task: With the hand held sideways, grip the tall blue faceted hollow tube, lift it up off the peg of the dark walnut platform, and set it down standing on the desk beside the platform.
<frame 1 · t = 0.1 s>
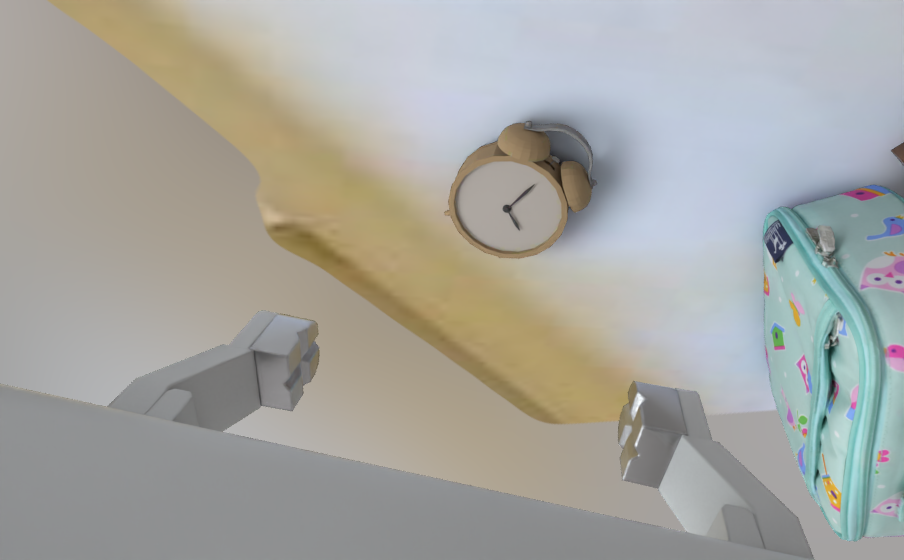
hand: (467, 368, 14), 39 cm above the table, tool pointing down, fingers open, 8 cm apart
alarm clock: (523, 179, 53), on the table
lunch box: (814, 286, 54), on the table
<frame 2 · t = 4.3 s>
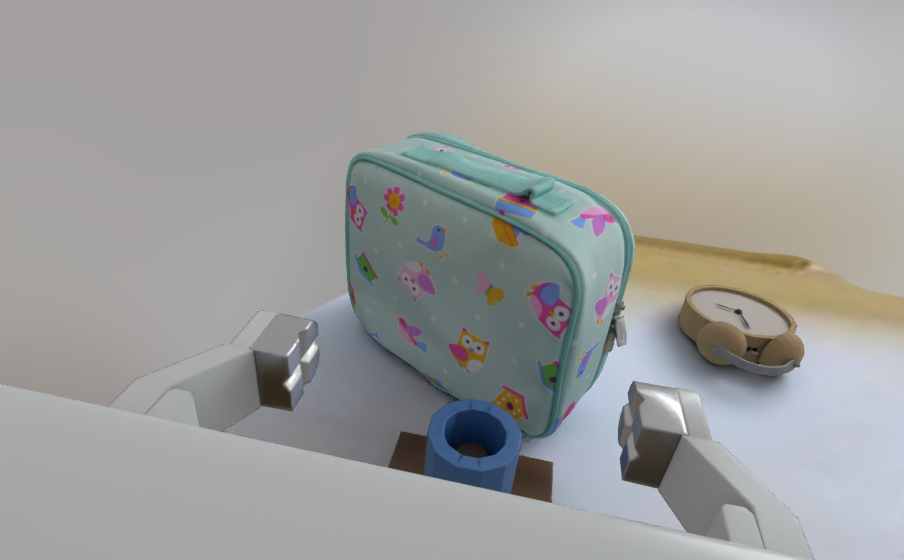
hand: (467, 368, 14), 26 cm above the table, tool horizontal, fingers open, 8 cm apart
alarm clock: (732, 346, 61), on the table
lunch box: (465, 367, 54), on the table
platform: (458, 543, 38), on the table
blue faceted hollow tube: (460, 526, 37), point 2 cm above the table, touching platform
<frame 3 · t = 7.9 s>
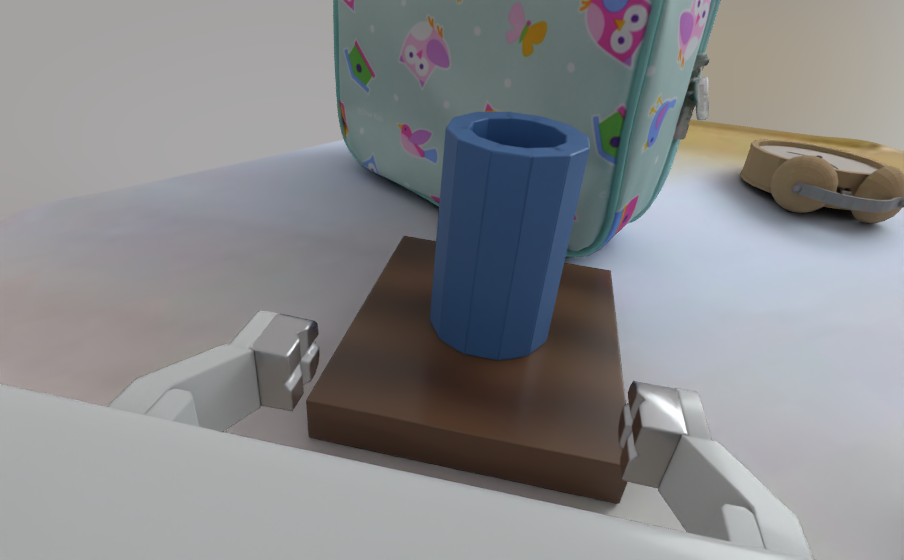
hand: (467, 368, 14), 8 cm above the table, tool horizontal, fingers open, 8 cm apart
alarm clock: (810, 201, 49), on the table
lunch box: (484, 203, 43), on the table
platform: (484, 355, 27), on the table
blue faceted hollow tube: (489, 322, 26), point 2 cm above the table, touching platform
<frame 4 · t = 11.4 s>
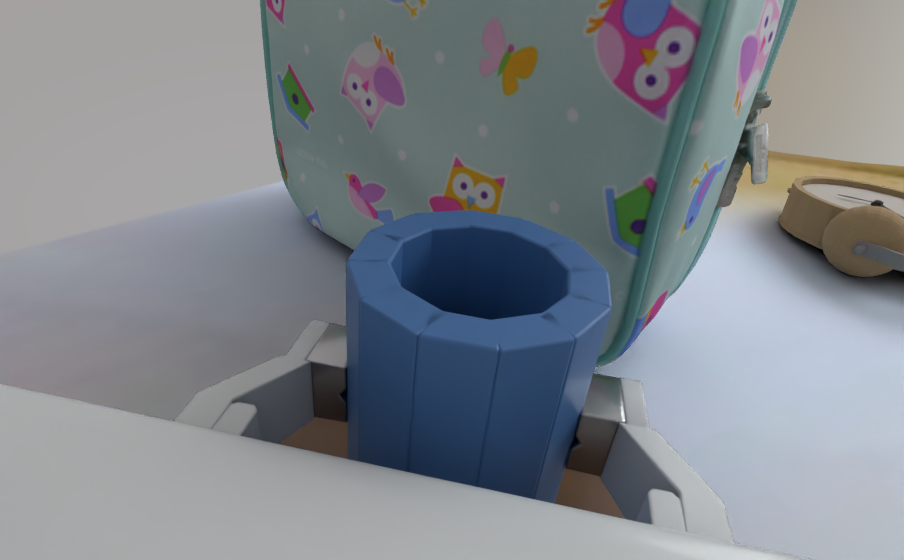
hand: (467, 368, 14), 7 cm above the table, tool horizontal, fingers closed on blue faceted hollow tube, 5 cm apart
alarm clock: (867, 257, 40), on the table
lunch box: (460, 270, 33), on the table
blue faceted hollow tube: (444, 528, 16), point 2 cm above the table, touching gripper, platform
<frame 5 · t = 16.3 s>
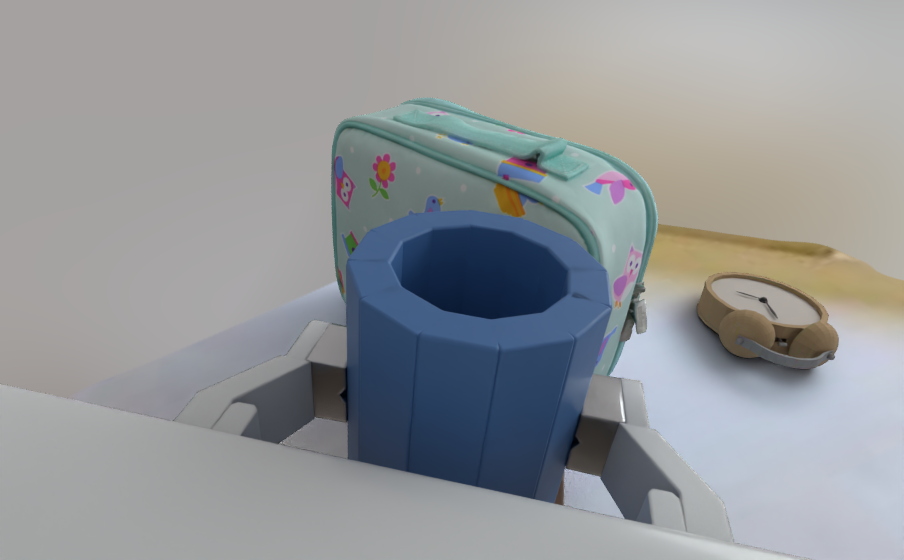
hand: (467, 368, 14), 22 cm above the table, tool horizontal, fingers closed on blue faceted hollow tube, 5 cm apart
alarm clock: (756, 338, 55), on the table
lunch box: (464, 360, 49), on the table
blue faceted hollow tube: (444, 527, 16), point 17 cm above the table, touching gripper
when the fingers open (5 cm above the table, at t = 21.7 s): blue faceted hollow tube stays where it is, on the table.
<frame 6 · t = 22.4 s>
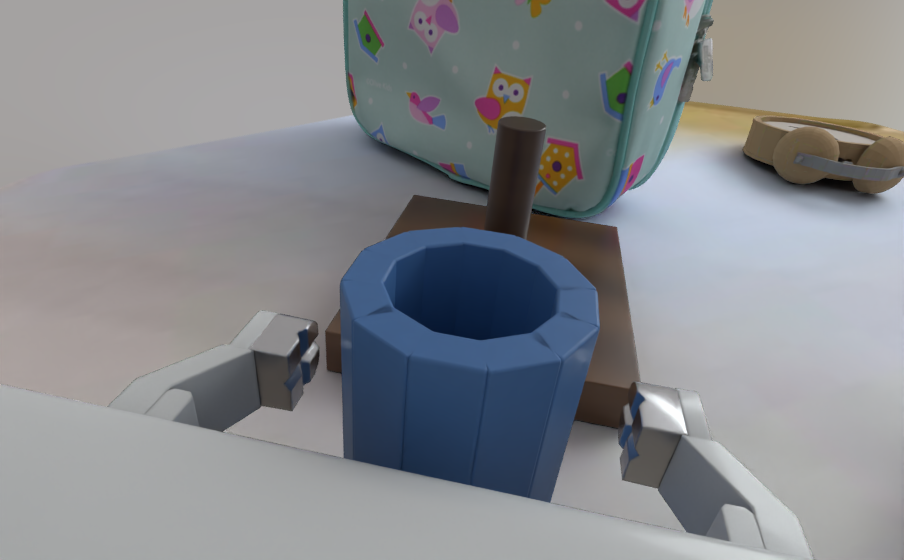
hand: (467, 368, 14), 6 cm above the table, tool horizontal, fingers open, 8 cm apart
alarm clock: (811, 175, 50), on the table
lunch box: (490, 172, 43), on the table
platform: (494, 303, 27), on the table
blue faceted hollow tube: (440, 537, 17), on the table
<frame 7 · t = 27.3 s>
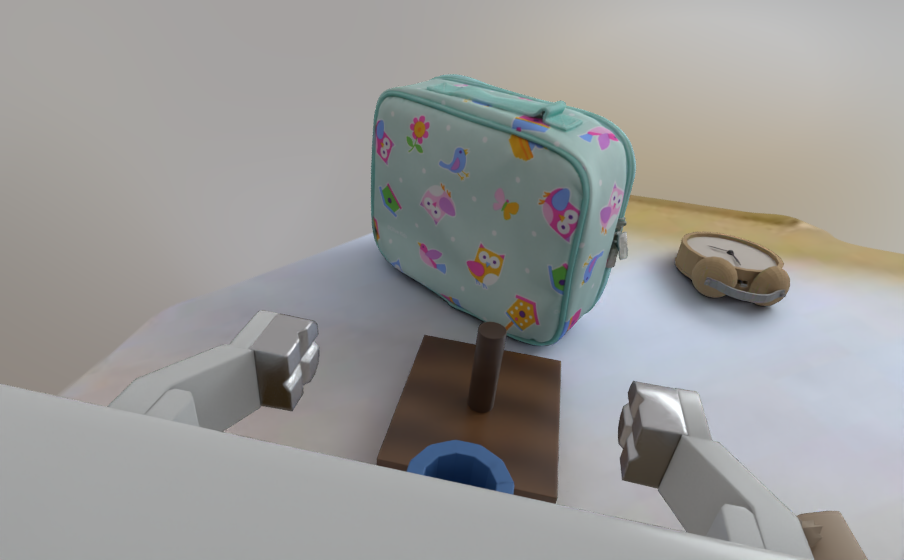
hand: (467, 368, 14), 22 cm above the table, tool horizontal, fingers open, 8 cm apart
alarm clock: (724, 284, 66), on the table
lunch box: (479, 294, 59), on the table
platform: (477, 422, 43), on the table
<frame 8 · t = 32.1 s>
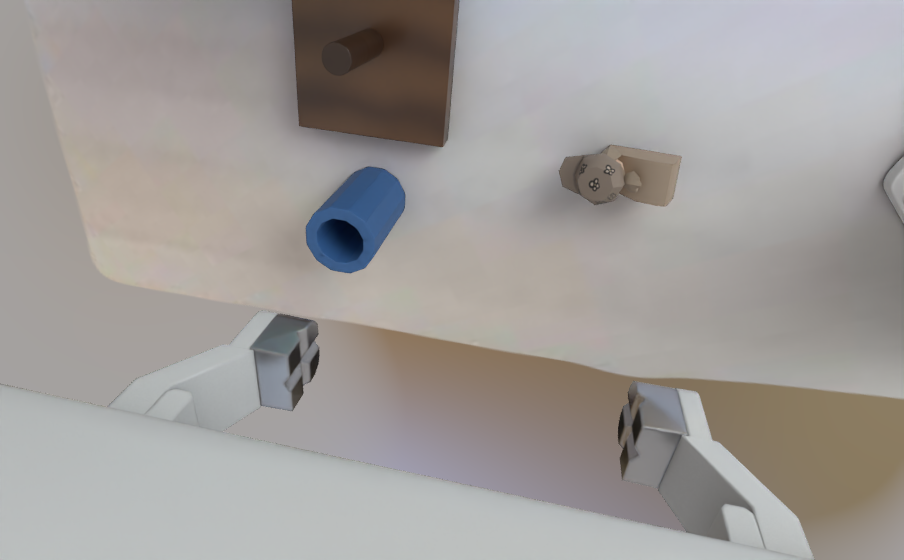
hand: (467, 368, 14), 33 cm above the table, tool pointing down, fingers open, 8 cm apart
toy character: (614, 164, 44), on the table
platform: (378, 39, 42), on the table
blue faceted hollow tube: (375, 196, 49), on the table
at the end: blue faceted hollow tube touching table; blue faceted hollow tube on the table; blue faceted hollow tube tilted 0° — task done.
